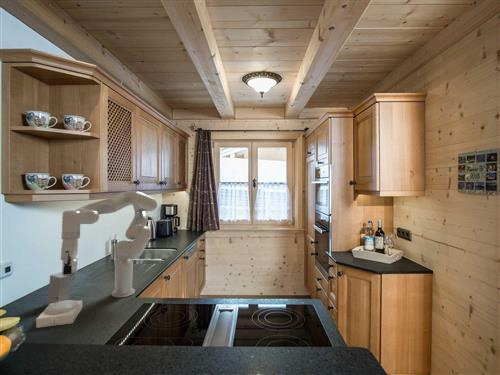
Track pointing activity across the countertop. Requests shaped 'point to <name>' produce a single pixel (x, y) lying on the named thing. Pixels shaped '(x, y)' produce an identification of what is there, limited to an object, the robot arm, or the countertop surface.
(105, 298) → the countertop surface
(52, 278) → the skincare box
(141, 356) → the countertop surface
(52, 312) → the scale
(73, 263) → the steel spacer
